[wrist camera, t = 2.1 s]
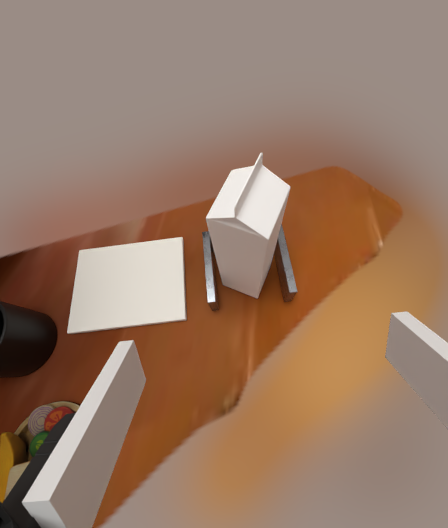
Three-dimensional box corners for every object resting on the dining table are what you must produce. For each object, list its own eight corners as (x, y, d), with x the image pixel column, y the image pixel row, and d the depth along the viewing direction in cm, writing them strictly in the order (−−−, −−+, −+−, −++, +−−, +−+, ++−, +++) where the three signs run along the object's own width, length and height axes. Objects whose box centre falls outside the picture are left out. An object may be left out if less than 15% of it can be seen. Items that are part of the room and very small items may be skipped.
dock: (212, 310, 38) (207, 302, 33) (207, 247, 42) (202, 232, 37) (290, 301, 37) (297, 291, 33) (277, 238, 42) (281, 221, 37)
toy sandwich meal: (107, 394, 34) (87, 398, 30) (99, 523, 29) (73, 550, 25) (20, 406, 35) (-13, 411, 30) (-4, 536, 29) (-48, 565, 25)
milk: (222, 285, 39) (196, 195, 19) (237, 253, 41) (227, 141, 21) (258, 299, 38) (272, 218, 18) (271, 265, 40) (297, 158, 20)
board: (71, 334, 38) (67, 333, 37) (82, 252, 43) (79, 250, 42) (186, 320, 37) (185, 319, 36) (183, 239, 43) (182, 237, 42)
